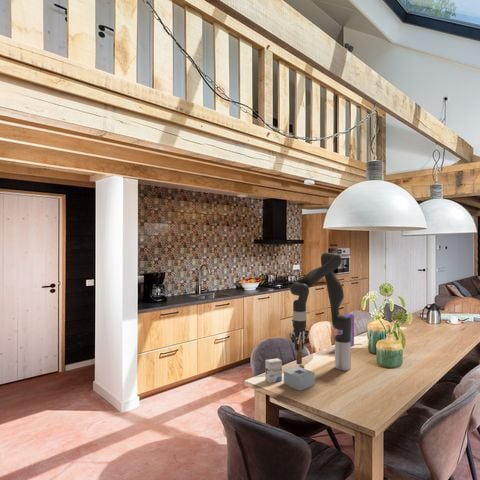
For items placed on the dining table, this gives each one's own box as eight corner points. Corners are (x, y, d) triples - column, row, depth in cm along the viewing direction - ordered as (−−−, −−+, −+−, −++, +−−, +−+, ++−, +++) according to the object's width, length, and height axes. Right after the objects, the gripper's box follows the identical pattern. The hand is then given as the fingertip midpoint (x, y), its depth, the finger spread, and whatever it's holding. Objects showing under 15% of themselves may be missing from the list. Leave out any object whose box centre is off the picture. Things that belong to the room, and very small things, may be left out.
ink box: (278, 377, 206) (278, 357, 206) (282, 381, 201) (282, 360, 201) (264, 379, 203) (264, 359, 203) (268, 383, 198) (268, 362, 198)
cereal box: (343, 350, 259) (343, 317, 259) (337, 349, 262) (337, 316, 263) (354, 345, 272) (354, 314, 272) (348, 344, 275) (348, 313, 275)
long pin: (303, 363, 196) (303, 338, 196) (299, 364, 194) (299, 339, 194) (299, 362, 198) (299, 337, 199) (295, 363, 196) (295, 338, 197)
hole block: (298, 378, 205) (298, 366, 205) (314, 385, 195) (314, 372, 195) (283, 383, 197) (283, 371, 197) (299, 390, 188) (299, 377, 188)
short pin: (301, 374, 211) (301, 364, 211) (305, 375, 209) (305, 365, 209) (298, 375, 209) (298, 365, 210) (301, 377, 207) (302, 366, 207)
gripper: (295, 321, 189) (295, 353, 189) (312, 318, 198) (312, 349, 198) (285, 319, 195) (285, 350, 195) (302, 316, 204) (302, 346, 204)
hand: (299, 349), depth 196 cm, fingers closed on long pin, 3 cm apart
